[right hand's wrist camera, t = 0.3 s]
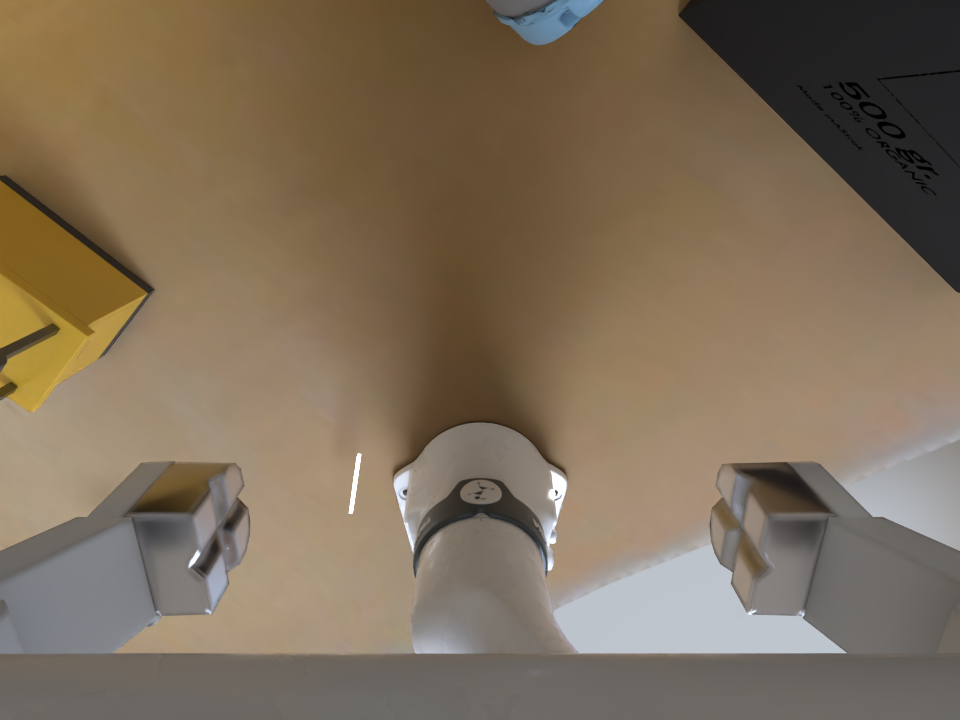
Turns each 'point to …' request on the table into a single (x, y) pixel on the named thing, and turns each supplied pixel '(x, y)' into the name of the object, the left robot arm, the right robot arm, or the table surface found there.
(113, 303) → the chest
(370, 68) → the table surface
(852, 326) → the table surface
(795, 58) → the cardboard box
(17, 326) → the lid
